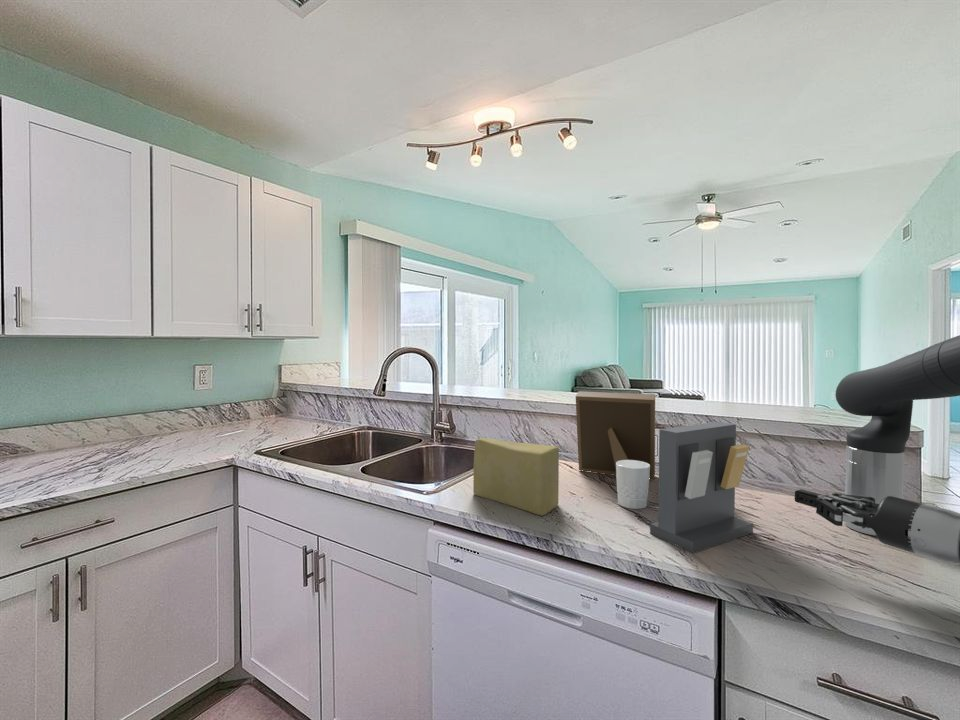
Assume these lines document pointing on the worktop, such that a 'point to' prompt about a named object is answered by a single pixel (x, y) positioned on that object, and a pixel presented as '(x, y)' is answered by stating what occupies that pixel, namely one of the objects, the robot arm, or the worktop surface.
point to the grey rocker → (698, 474)
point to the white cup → (632, 483)
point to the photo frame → (615, 430)
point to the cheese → (517, 474)
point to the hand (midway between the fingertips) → (796, 495)
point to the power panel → (705, 515)
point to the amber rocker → (734, 466)
